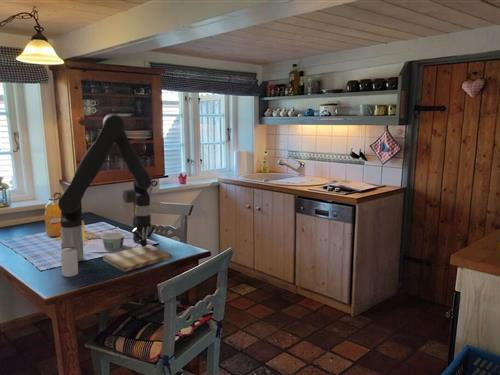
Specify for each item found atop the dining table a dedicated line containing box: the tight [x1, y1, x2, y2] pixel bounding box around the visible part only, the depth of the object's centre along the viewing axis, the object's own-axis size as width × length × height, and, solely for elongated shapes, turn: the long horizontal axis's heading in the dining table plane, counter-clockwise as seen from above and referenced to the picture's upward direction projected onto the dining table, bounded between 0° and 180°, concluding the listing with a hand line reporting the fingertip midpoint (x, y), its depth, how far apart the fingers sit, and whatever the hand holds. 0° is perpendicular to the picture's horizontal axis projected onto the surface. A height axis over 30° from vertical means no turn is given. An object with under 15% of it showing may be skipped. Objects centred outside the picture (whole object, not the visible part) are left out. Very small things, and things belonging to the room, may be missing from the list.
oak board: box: [112, 248, 173, 273], centre depth 197 cm, size 26×10×2 cm, turn 136°
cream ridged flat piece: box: [102, 244, 161, 266], centre depth 204 cm, size 26×10×2 cm, turn 136°
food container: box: [100, 231, 126, 251], centre depth 217 cm, size 12×12×6 cm
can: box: [60, 246, 79, 278], centre depth 179 cm, size 6×6×12 cm
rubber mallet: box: [122, 188, 140, 243], centre depth 224 cm, size 12×8×30 cm, turn 129°
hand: (143, 246), depth 211 cm, fingers closed
